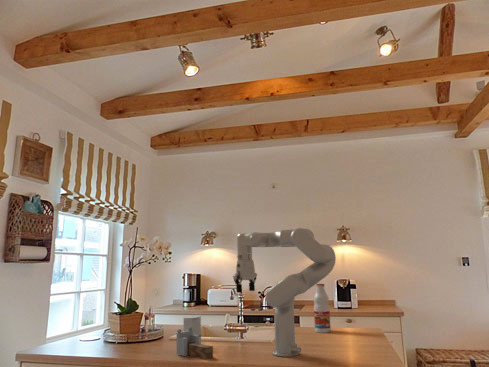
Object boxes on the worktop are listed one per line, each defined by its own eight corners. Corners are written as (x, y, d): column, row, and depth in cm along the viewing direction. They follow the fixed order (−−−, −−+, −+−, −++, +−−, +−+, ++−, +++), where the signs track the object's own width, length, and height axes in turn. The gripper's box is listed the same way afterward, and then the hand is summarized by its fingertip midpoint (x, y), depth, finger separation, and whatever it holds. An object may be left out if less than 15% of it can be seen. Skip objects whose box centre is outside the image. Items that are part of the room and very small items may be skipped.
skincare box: (192, 348, 209) (192, 318, 212) (182, 347, 212) (182, 317, 215) (201, 344, 217) (201, 315, 219) (192, 343, 220) (192, 315, 222)
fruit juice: (332, 330, 247) (329, 283, 252) (328, 333, 239) (325, 284, 243) (317, 329, 251) (315, 283, 256) (312, 332, 243) (310, 284, 248)
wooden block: (212, 357, 189) (212, 346, 190) (206, 359, 186) (206, 347, 187) (190, 352, 200) (190, 341, 201) (183, 354, 197) (183, 343, 198)
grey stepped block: (198, 352, 199) (198, 327, 201) (184, 356, 193) (184, 330, 195) (190, 350, 203) (190, 326, 205) (176, 354, 197) (176, 329, 199)
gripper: (238, 257, 201) (239, 293, 198) (261, 257, 214) (262, 290, 211) (227, 258, 206) (228, 292, 203) (250, 257, 219) (251, 289, 216)
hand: (245, 291), depth 207 cm, fingers open, 9 cm apart
